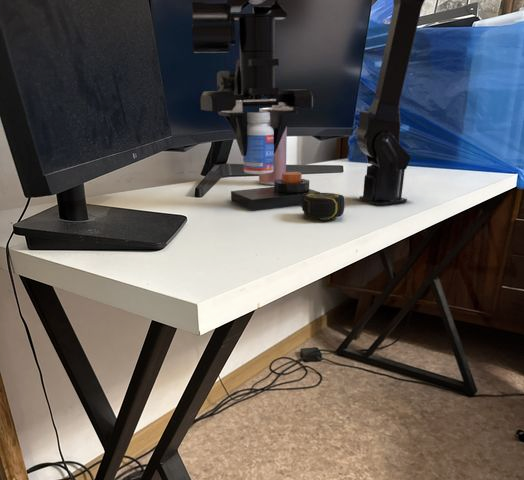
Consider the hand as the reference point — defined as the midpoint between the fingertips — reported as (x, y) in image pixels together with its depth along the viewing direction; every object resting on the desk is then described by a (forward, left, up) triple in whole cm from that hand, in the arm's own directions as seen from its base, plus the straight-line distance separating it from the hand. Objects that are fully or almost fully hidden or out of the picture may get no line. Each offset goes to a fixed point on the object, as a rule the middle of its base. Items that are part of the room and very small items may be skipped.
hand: (258, 154), depth 90 cm
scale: (-3, 0, -9) cm, 9 cm away
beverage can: (-12, -18, -9) cm, 24 cm away
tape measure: (-4, +14, -9) cm, 17 cm away
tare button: (-7, 0, -5) cm, 9 cm away
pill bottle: (0, 0, -3) cm, 3 cm away
